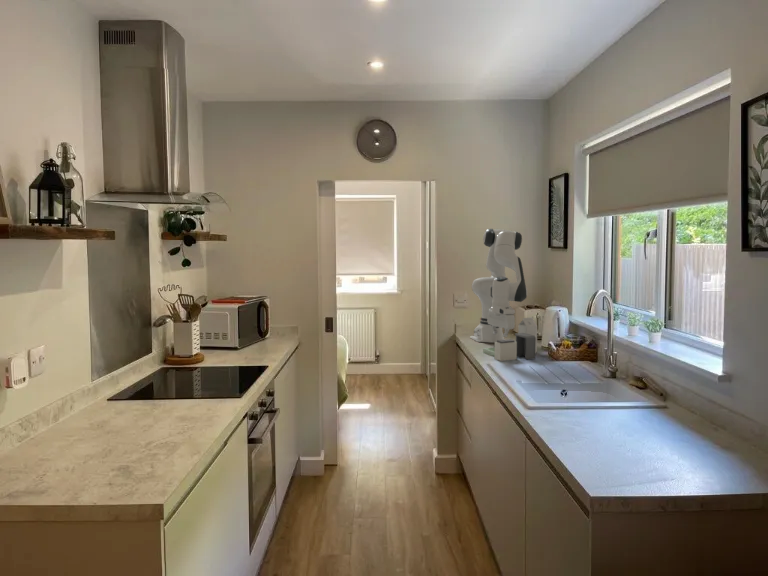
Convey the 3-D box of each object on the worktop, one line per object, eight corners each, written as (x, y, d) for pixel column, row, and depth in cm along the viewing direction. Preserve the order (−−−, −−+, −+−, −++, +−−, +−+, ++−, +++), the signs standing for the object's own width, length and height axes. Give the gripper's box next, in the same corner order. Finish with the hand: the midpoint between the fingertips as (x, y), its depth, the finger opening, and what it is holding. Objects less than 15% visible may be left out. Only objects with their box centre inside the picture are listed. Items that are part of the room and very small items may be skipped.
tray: (483, 352, 301) (483, 348, 301) (507, 350, 307) (507, 346, 307) (494, 356, 291) (494, 352, 291) (519, 354, 297) (519, 349, 296)
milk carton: (518, 351, 303) (518, 317, 302) (528, 350, 306) (528, 316, 305) (526, 353, 297) (527, 319, 295) (536, 352, 300) (537, 318, 298)
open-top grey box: (514, 355, 292) (515, 333, 291) (524, 354, 294) (524, 332, 293) (525, 359, 283) (525, 336, 282) (535, 358, 286) (535, 335, 285)
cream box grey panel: (494, 359, 285) (494, 340, 284) (510, 357, 289) (511, 339, 288) (500, 361, 281) (500, 342, 280) (516, 359, 284) (516, 340, 283)
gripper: (484, 306, 290) (484, 332, 291) (506, 311, 271) (506, 339, 272) (494, 306, 292) (494, 331, 293) (517, 310, 273) (516, 338, 274)
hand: (500, 335), depth 283 cm, fingers open, 8 cm apart
